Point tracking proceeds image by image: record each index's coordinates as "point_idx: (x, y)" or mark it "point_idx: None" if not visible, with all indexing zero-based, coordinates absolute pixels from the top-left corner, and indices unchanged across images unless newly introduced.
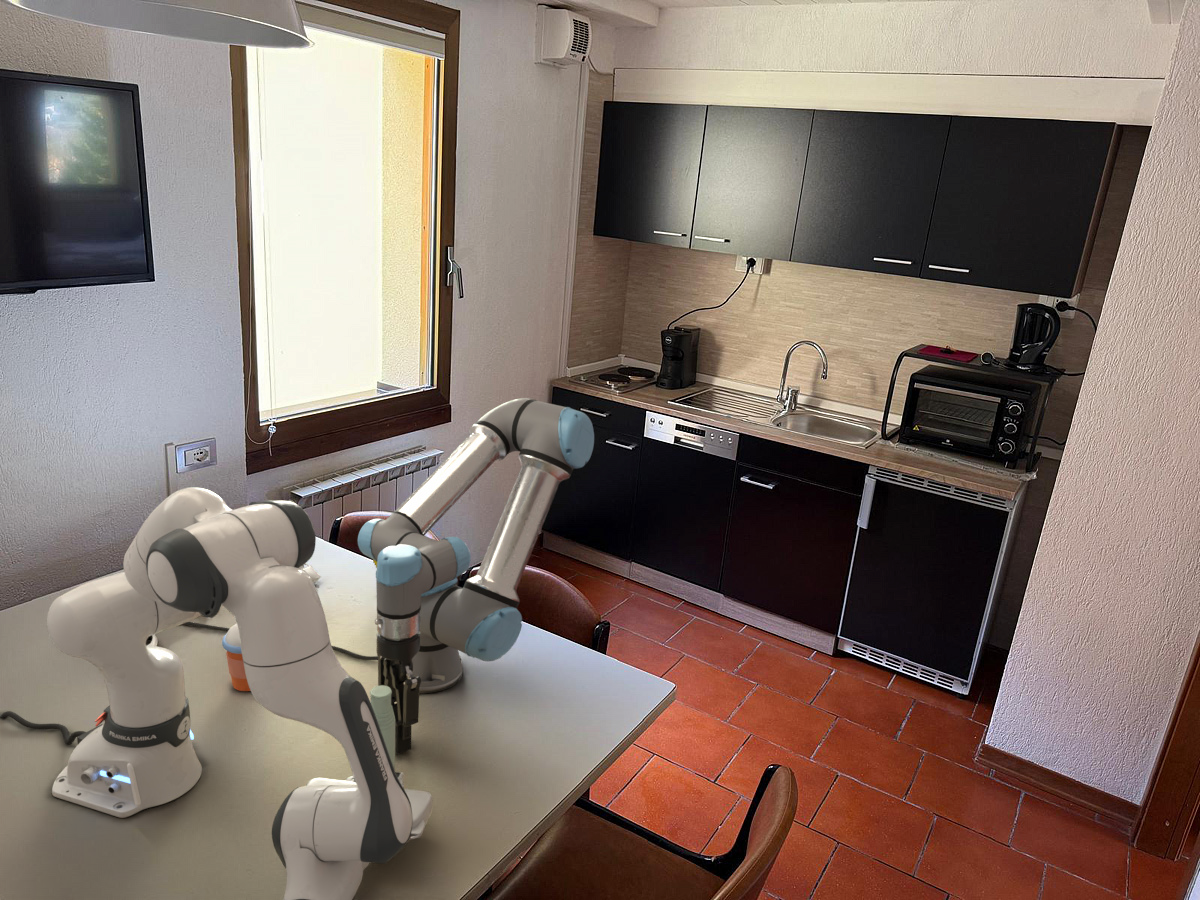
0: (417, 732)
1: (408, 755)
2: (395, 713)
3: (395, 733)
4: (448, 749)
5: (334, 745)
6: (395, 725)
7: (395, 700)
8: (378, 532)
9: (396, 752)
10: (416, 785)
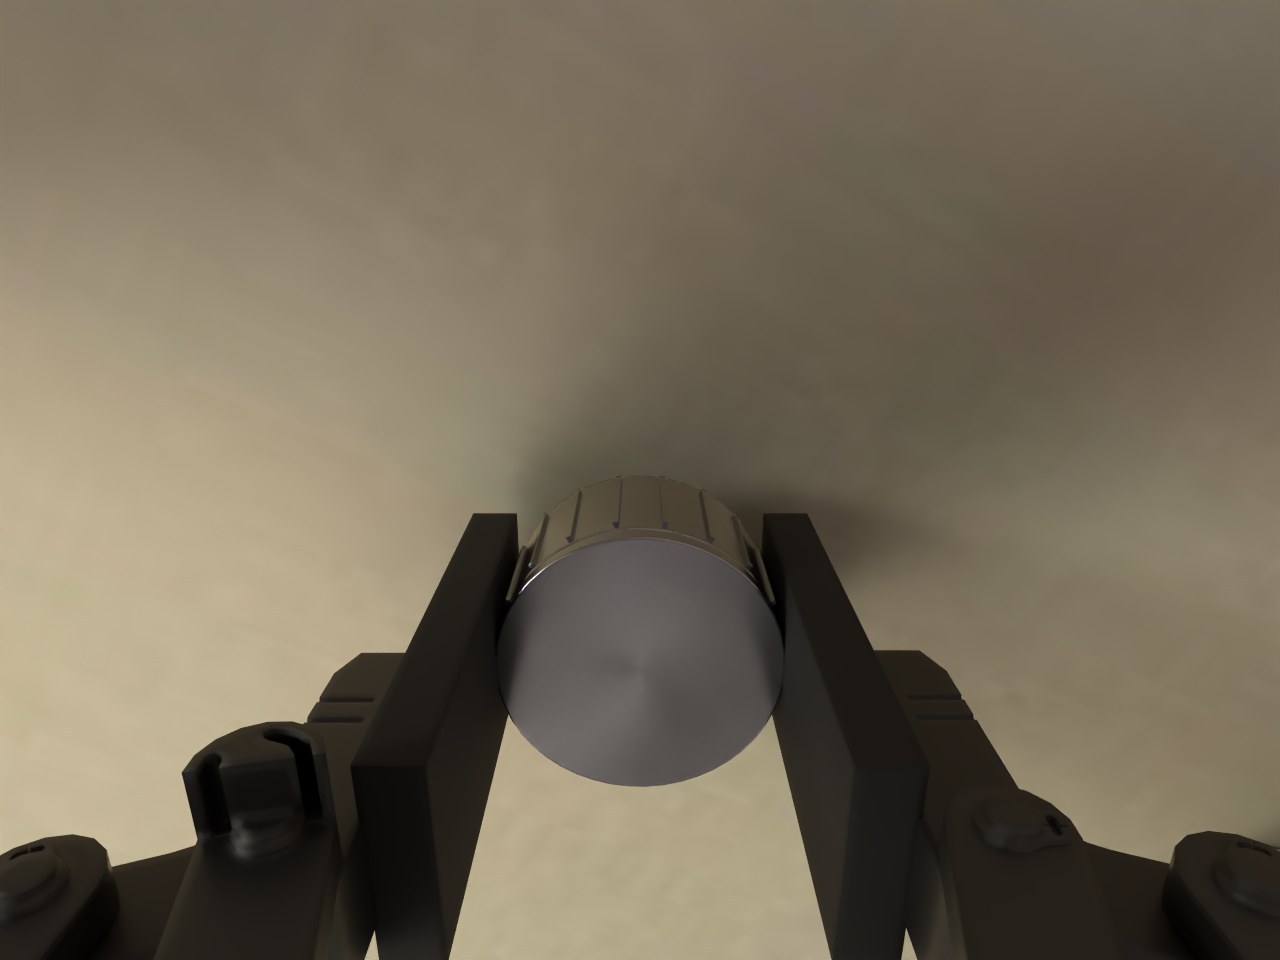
0: (501, 280)
1: None
2: (460, 732)
3: (670, 701)
4: (971, 114)
5: None
6: (524, 646)
7: (335, 862)
8: None
9: None
10: (1202, 630)
